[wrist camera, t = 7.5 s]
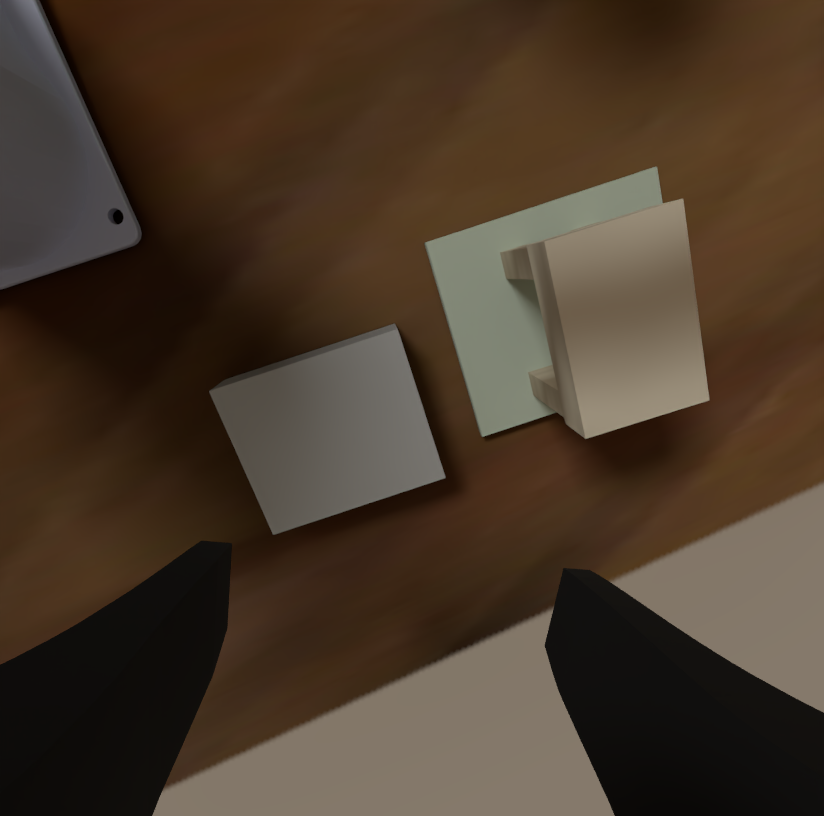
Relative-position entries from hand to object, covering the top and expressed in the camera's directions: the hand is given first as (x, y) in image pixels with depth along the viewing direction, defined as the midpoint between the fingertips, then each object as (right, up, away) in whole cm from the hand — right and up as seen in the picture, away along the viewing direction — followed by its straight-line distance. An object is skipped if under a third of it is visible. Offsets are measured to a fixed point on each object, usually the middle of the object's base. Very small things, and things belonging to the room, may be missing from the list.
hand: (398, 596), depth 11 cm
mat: (+6, +8, +9) cm, 14 cm away
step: (-3, +3, +10) cm, 11 cm away
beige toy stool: (+6, +8, +9) cm, 13 cm away
